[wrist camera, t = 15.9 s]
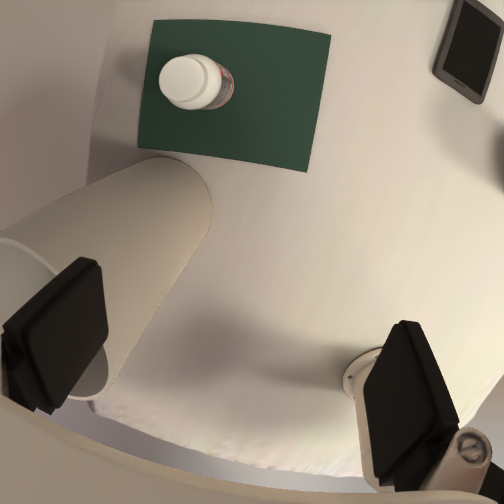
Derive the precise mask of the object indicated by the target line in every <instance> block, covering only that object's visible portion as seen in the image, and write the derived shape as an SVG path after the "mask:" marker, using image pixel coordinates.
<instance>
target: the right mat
mask: <svg viewBox="0 0 504 504" xmlns="http://www.w3.org/2000/svg"><path fill="white" fill-rule="evenodd" d="M330 40H331V35H328V34H323V33H318V32H313V31H308V30H302V29H296V28H290V27H283V26H276V25H268V24H260V23H250V22H238V21H223V20H154V24H153V30H152V35H151V41H150V47H149V53H148V60H147V66H146V73H145V81H144V88H143V97H142V106H141V115H140V126H139V137H138V148H146V149H156V150H166V151H174V152H183V153H191V154H198V155H206V156H213V157H220V158H227V159H233V160H239V161H246V162H252V163H258V164H263V165H269V166H275V167H280V168H285V169H291V170H296V171H301V172H306V173H307V169H308V164H309V159H310V154H311V149H312V143H313V138H314V133H315V127H316V122H317V117H318V111H319V106H320V100H321V94H322V89H323V83H324V77H325V71H326V65H327V59H328V53H329V46H330ZM190 54H199V55H203V56H206V57H208V58H210V59H212V60H213V61H215V62H217V63H218V64H220V65H222V66H223V67H225V68H226V69H227V70H228V71H229V72H230V74H231V76H232V78H233V82H234V89H233V93H232V95H231V97H230V99H229V100H228V101H227V102H226V103H225V104H224V105H222V106H220V107H218V108H215V109H207V110H205V109H195V110H187V109H182V108H179V107H177V106H175V105H174V104H173V103H171V102H170V101H169V99H168V98H167V97H166V96H165V95H164V94H163V92H162V91H161V89H160V85H159V76H160V73H161V71H162V69H163V67H164V66H165V65H166V64H167V63H168V62H169V61H170V60H172V59H174V58H176V57H181V56H185V55H190Z"/></svg>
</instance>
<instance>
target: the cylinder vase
mask: <svg viewBox="0 0 504 504" xmlns="http://www.w3.org/2000/svg"><path fill="white" fill-rule="evenodd" d="M211 219H212V203H211V198H210V195H209V192H208V189H207V187H206V185H205V184H204V182H203V181H202V179H201V178H200V177H199V175H198V174H197V173H196V172H195V171H194V170H193V169H191V168H190V167H189V166H187V165H185V164H184V163H182V162H180V161H177V160H174V159H170V158H161V157H159V158H151V159H147V160H144V161H142V162H139V163H137V164H135V165H132V166H130V167H127V168H125V169H123V170H120V171H118V172H116V173H113V174H111V175H109V176H107V177H104V178H102V179H100V180H98V181H95V182H93V183H91V184H89V185H87V186H85V187H83V188H81V189H78V190H76V191H74V192H72V193H70V194H68V195H66V196H64V197H62V198H60V199H58V200H56V201H54V202H52V203H50V204H48V205H46V206H44V207H43V208H41V209H39V210H37V211H35V212H33V213H31V214H29V215H28V216H26V217H24V218H22V219H20V220H19V221H17V222H15V223H13V224H12V225H10V226H8V227H6V228H5V229H3V230H1V231H0V334H2V333H3V332H4V330H3V327H2V325H3V324H4V323H5V322H6V321H7V320H8V319H9V318H10V317H11V316H12V315H13V314H14V313H16V312H17V311H18V310H19V309H20V308H21V307H22V306H23V305H24V304H25V303H26V302H27V301H29V300H30V299H31V298H32V297H33V296H34V295H35V294H36V293H37V292H38V291H40V290H41V289H42V288H43V287H44V286H45V285H46V284H48V283H49V282H50V281H51V280H52V279H53V278H54V277H56V276H57V275H58V274H59V273H60V272H62V271H63V270H64V269H65V268H66V267H67V266H69V265H70V264H71V263H72V262H73V261H75V260H76V259H77V258H78V257H86V258H90V259H94V260H96V261H97V262H98V265H100V266H101V268H102V276H103V287H104V296H105V305H106V313H107V320H108V327H109V334H108V338H107V340H106V341H105V343H104V344H103V346H102V347H101V348H100V350H99V351H98V353H97V354H96V356H95V357H94V358H93V360H92V361H91V363H90V364H89V366H88V367H87V368H86V370H85V371H84V373H83V374H82V376H81V377H80V379H79V380H78V382H77V383H76V385H75V386H74V388H73V389H72V391H71V392H70V394H69V395H68V398H71V399H77V400H94V399H97V398H100V397H102V396H103V395H105V394H106V393H107V392H108V391H109V389H110V387H111V386H112V384H113V382H114V381H115V379H116V377H117V376H118V374H119V372H120V370H121V369H122V367H123V365H124V364H125V362H126V360H127V359H128V357H129V355H130V354H131V352H132V350H133V349H134V347H135V345H136V344H137V342H138V340H139V339H140V337H141V336H142V334H143V332H144V331H145V329H146V327H147V326H148V324H149V323H150V321H151V319H152V318H153V316H154V315H155V313H156V311H157V310H158V308H159V307H160V305H161V303H162V302H163V300H164V299H165V297H166V296H167V294H168V292H169V291H170V289H171V288H172V286H173V285H174V283H175V282H176V280H177V278H178V277H179V275H180V274H181V272H182V271H183V269H184V268H185V266H186V265H187V263H188V262H189V260H190V259H191V257H192V255H193V254H194V252H195V251H196V249H197V248H198V246H199V245H200V243H201V242H202V240H203V239H204V237H205V236H206V234H207V232H208V230H209V227H210V224H211Z"/></svg>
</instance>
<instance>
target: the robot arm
mask: <svg viewBox="0 0 504 504" xmlns="http://www.w3.org/2000/svg"><path fill="white" fill-rule="evenodd" d="M2 327H3V330H4V332H3V333H2V334H0V504H504V470H503V469H501V468H499V467H498V466H497V465H495V464H494V463H492V462H491V458H492V447H491V444H490V442H489V440H488V439H487V437H486V436H485V435H484V434H483V433H482V432H480V431H479V430H476V429H474V428H469V427H468V428H462V429H460V430H459V427H458V423H459V422H460V421H459V418H458V415H457V413H456V410H455V407H454V404H453V402H452V399H451V396H450V394H449V391H448V389H447V386H446V384H445V381H444V379H443V376H442V374H441V371H440V369H439V366H438V364H437V362H436V359H435V357H434V355H433V352H432V350H431V348H430V345H429V343H428V341H427V339H426V337H425V334H424V332H423V330H422V328H421V326H420V324H419V323H418V322H413V321H406V320H401V321H400V322H399V323H398V324H395V325H394V326H393V327H392V329H391V331H390V334H389V336H388V338H387V340H386V342H385V344H384V346H383V348H380V349H376V350H373V351H370V352H368V353H366V354H364V355H362V356H360V357H359V358H357V359H356V360H355V361H354V362H353V363H351V364H350V366H349V367H348V368H347V370H346V371H345V373H344V376H343V388H344V391H345V393H346V395H347V396H348V397H349V398H350V399H352V400H354V401H355V406H356V414H357V423H358V432H359V441H360V451H361V462H362V471H363V476H364V478H365V480H366V482H367V483H368V484H369V485H370V486H371V487H372V488H373V489H374V490H376V491H377V492H379V493H325V492H307V491H294V490H285V489H276V488H268V487H261V486H254V485H248V484H242V483H236V482H230V481H225V480H220V479H215V478H210V477H206V476H202V475H197V474H193V473H189V472H185V471H181V470H178V469H174V468H170V467H167V466H163V465H160V464H157V463H153V462H150V461H147V460H144V459H141V458H138V457H135V456H132V455H129V454H127V453H124V452H121V451H118V450H115V449H113V448H110V447H108V446H105V445H103V444H100V443H98V442H95V441H93V440H90V439H88V438H86V437H83V436H81V435H79V434H77V433H74V432H72V431H70V430H68V429H66V428H63V427H62V426H59V425H57V424H55V423H53V422H51V421H49V420H47V419H45V418H43V417H41V416H39V415H37V414H36V413H34V411H35V409H36V408H37V407H38V409H40V410H42V411H44V412H46V413H48V414H49V415H52V413H53V411H54V410H55V408H60V407H61V406H62V404H63V403H64V401H65V400H66V398H67V397H68V395H69V394H70V392H71V391H72V389H73V388H74V386H75V385H76V383H77V382H78V380H79V379H80V377H81V376H82V374H83V373H84V371H85V370H86V368H87V367H88V366H89V364H90V363H91V361H92V360H93V358H94V357H95V356H96V354H97V353H98V351H99V350H100V348H101V347H102V346H103V344H104V343H105V341H106V340H107V338H108V334H109V327H108V320H107V313H106V305H105V296H104V287H103V276H102V268H101V266H100V265H98V262H97V261H96V260H94V259H90V258H86V257H78V258H77V259H76V260H75V261H73V262H72V263H71V264H70V265H69V266H67V267H66V268H65V269H64V270H63V271H62V272H60V273H59V274H58V275H57V276H56V277H54V278H53V279H52V280H51V281H50V282H49V283H48V284H46V285H45V286H44V287H43V288H42V289H41V290H40V291H38V292H37V293H36V294H35V295H34V296H33V297H32V298H31V299H30V300H29V301H27V302H26V303H25V304H24V305H23V306H22V307H21V308H20V309H19V310H18V311H17V312H16V313H14V314H13V315H12V316H11V317H10V318H9V319H8V320H7V321H6V322H5V323H4V324H3V325H2Z"/></svg>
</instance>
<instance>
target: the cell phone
mask: <svg viewBox="0 0 504 504" xmlns="http://www.w3.org/2000/svg"><path fill="white" fill-rule="evenodd" d="M503 33H504V22H503V20H502V19H501V18H500V17H498V16H497V15H496V14H495V13H493V12H492V11H491V10H490V9H488V8H487V7H486V6H484V5H483V4H482V3H480V2H479V1H477V0H456V3H455V7H454V10H453V14H452V17H451V20H450V23H449V26H448V30H447V33H446V36H445V39H444V42H443V45H442V48H441V51H440V54H439V56H438V59H437V62H436V65H435V69H434V74H435V75H436V76H437V77H438V78H439V79H440V80H441V81H443V82H445V83H446V84H448V85H449V86H451V87H452V88H454V89H455V90H456V91H458V92H459V93H461V94H462V95H464V96H465V97H466V98H468V99H469V100H471V101H472V102H473V103H475V104H478V105H479V104H482V103H483V101H484V98H485V96H486V93H487V90H488V87H489V84H490V81H491V77H492V74H493V71H494V67H495V64H496V60H497V57H498V53H499V49H500V46H501V42H502V37H503Z"/></svg>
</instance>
